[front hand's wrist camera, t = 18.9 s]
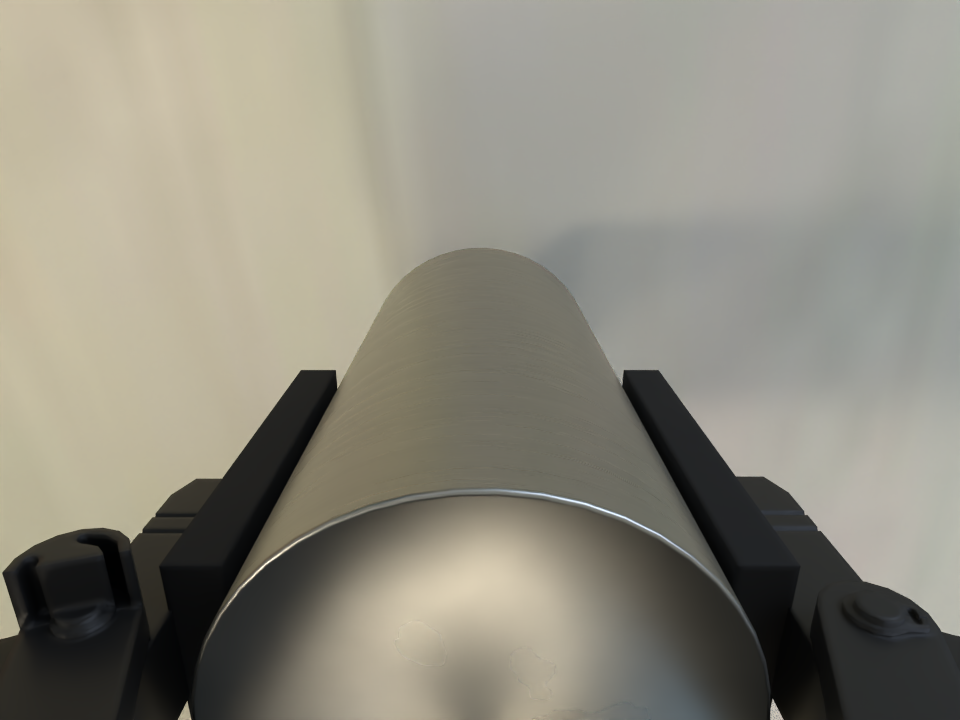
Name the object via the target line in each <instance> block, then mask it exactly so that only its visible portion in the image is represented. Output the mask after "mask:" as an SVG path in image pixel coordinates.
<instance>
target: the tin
mask: <svg viewBox="0 0 960 720" xmlns="http://www.w3.org/2000/svg"><path fill="white" fill-rule="evenodd" d="M770 694H771V692H770V683H769V677H768V671H767V665H766V660H765V657H764V654H763V651H762V649H761V646H760V643H759V640H758V637H757V635H756V632H755V630H754V628H753V626H752V624H751V623H750V621H749V619H748V617H747V615H746V613H745V612H744V610H743V608H742V606H741V604H740V602H739V601H738V599H737V597H736V595H735V593H734V591H733V589H732V588H731V586H730V584H729V582H728V580H727V578H726V577H725V575H724V573H723V571H722V569H721V567H720V566H719V564H718V562H717V560H716V558H715V556H714V555H713V553H712V551H711V549H710V547H709V545H708V544H707V542H706V540H705V538H704V536H703V534H702V533H701V531H700V529H699V527H698V525H697V523H696V521H695V520H694V518H693V516H692V514H691V512H690V510H689V509H688V507H687V505H686V503H685V501H684V499H683V498H682V496H681V494H680V492H679V490H678V488H677V487H676V485H675V483H674V481H673V479H672V477H671V476H670V474H669V472H668V470H667V468H666V466H665V465H664V463H663V461H662V459H661V457H660V455H659V453H658V452H657V450H656V448H655V446H654V444H653V442H652V441H651V439H650V437H649V435H648V433H647V431H646V430H645V428H644V426H643V424H642V422H641V420H640V419H639V417H638V415H637V413H636V411H635V409H634V408H633V406H632V404H631V402H630V400H629V398H628V397H627V395H626V393H625V391H624V389H623V387H622V385H621V384H620V382H619V380H618V378H617V376H616V374H615V373H614V371H613V369H612V367H611V365H610V363H609V362H608V360H607V358H606V356H605V354H604V352H603V351H602V349H601V347H600V345H599V343H598V341H597V340H596V338H595V336H594V334H593V332H592V330H591V329H590V327H589V325H588V323H587V321H586V319H585V317H584V316H583V314H582V312H581V310H580V308H579V307H578V305H577V303H576V301H575V299H574V298H573V296H572V295H571V293H570V292H569V291H568V289H567V288H566V287H565V286H564V284H563V283H562V282H561V281H560V280H559V279H558V278H557V277H556V276H555V275H553V274H552V273H551V272H549V271H548V270H547V269H545V268H544V267H543V266H541V265H539V264H538V263H536V262H534V261H532V260H530V259H528V258H526V257H523V256H521V255H518V254H516V253H512V252H508V251H504V250H498V249H490V248H470V249H463V250H456V251H452V252H449V253H445V254H442V255H440V256H437V257H435V258H433V259H430V260H428V261H426V262H425V263H423V264H421V265H420V266H418V267H416V268H415V269H414V270H412V271H411V272H410V273H409V274H407V275H406V276H405V277H404V278H403V279H402V280H401V281H400V282H399V283H398V284H397V285H396V286H395V287H394V289H393V290H392V291H391V293H390V294H389V296H388V297H387V298H386V300H385V302H384V304H383V306H382V307H381V309H380V311H379V313H378V315H377V317H376V319H375V320H374V322H373V324H372V326H371V328H370V330H369V332H368V333H367V335H366V337H365V339H364V341H363V343H362V345H361V346H360V348H359V350H358V352H357V354H356V356H355V358H354V360H353V361H352V363H351V365H350V367H349V369H348V371H347V373H346V374H345V376H344V378H343V380H342V382H341V384H340V386H339V387H338V389H337V391H336V393H335V395H334V397H333V399H332V400H331V402H330V404H329V406H328V408H327V410H326V412H325V413H324V415H323V417H322V419H321V421H320V423H319V425H318V426H317V428H316V430H315V432H314V434H313V436H312V438H311V440H310V441H309V443H308V445H307V447H306V449H305V451H304V453H303V454H302V456H301V458H300V460H299V462H298V464H297V466H296V467H295V469H294V471H293V473H292V475H291V477H290V479H289V480H288V482H287V484H286V486H285V488H284V490H283V492H282V493H281V495H280V497H279V499H278V501H277V503H276V505H275V506H274V508H273V510H272V512H271V514H270V516H269V518H268V520H267V521H266V523H265V525H264V527H263V529H262V531H261V533H260V534H259V536H258V538H257V540H256V542H255V544H254V546H253V547H252V549H251V551H250V553H249V555H248V557H247V559H246V560H245V562H244V564H243V566H242V568H241V570H240V572H239V573H238V575H237V577H236V579H235V581H234V583H233V585H232V587H231V588H230V590H229V592H228V594H227V596H226V598H225V600H224V601H223V603H222V605H221V607H220V609H219V611H218V613H217V615H216V616H215V618H214V620H213V622H212V624H211V626H210V628H209V630H208V632H207V634H206V636H205V638H204V640H203V644H202V647H201V650H200V653H199V656H198V660H197V663H196V666H195V672H194V680H193V688H192V718H193V720H770Z"/></svg>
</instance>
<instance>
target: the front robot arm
mask: <svg viewBox="0 0 960 720" xmlns="http://www.w3.org/2000/svg"><path fill="white" fill-rule="evenodd" d="M622 387H623V389H624V391H625V393H626V395H627V397H628V398H629V400H630V402H631V404H632V406H633V408H634V409H635V411H636V413H637V415H638V417H639V419H640V420H641V422H642V424H643V426H644V428H645V430H646V431H647V433H648V435H649V437H650V439H651V441H652V442H653V444H654V446H655V448H656V450H657V452H658V453H659V455H660V457H661V459H662V461H663V463H664V465H665V466H666V468H667V470H668V472H669V474H670V476H671V477H672V479H673V481H674V483H675V485H676V487H677V488H678V490H679V492H680V494H681V496H682V498H683V499H684V501H685V503H686V505H687V507H688V509H689V510H690V512H691V514H692V516H693V518H694V520H695V521H696V523H697V525H698V527H699V529H700V531H701V533H702V534H703V536H704V538H705V540H706V542H707V544H708V545H709V547H710V549H711V551H712V553H713V555H714V556H715V558H716V560H717V562H718V564H719V566H720V567H721V569H722V571H723V573H724V575H725V577H726V578H727V580H728V582H729V584H730V586H731V588H732V589H733V591H734V593H735V595H736V597H737V599H738V601H739V602H740V604H741V606H742V608H743V610H744V612H745V613H746V615H747V617H748V619H749V621H750V623H751V624H752V626H753V628H754V630H755V632H756V635H757V637H758V640H759V643H760V646H761V649H762V651H763V654H764V657H765V660H766V665H767V671H768V677H769V683H770V692H771V694H770V708H771V703H772V698H773V700H774V702H775V704H776V706H777V708H778V709H779V711H780V713H781V715H782V717H783V719H784V720H960V637H959V636H955V635H951V634H947V633H944V632H941V630H940V628H939V627H938V626H937V624H936V623H935V622H934V620H933V619H932V618H931V616H930V615H929V614H928V613H927V612H926V611H925V610H923V609H922V608H921V607H919V606H918V605H917V604H915V603H914V602H913V601H912V600H910V599H908V598H906V597H904V596H902V595H900V594H898V593H896V592H894V591H892V590H890V589H888V588H885V587H882V586H878V585H875V584H871V583H868V582H863V581H862V580H861V579H860V577H859V576H858V575H857V574H856V573H855V571H854V570H853V569H852V568H851V567H850V565H849V564H848V563H847V562H846V561H845V559H844V558H843V557H842V556H841V555H840V553H839V552H838V551H837V550H836V549H835V547H834V546H833V545H832V544H831V543H830V542H829V540H828V539H827V538H826V537H825V536H824V534H823V533H822V532H821V531H818V530H817V526H816V525H815V524H814V522H813V521H812V520H811V519H810V518H809V516H808V515H805V514H804V510H803V509H802V508H801V507H800V506H799V505H798V503H797V502H796V501H795V500H794V499H793V497H792V496H791V495H790V494H789V493H788V492H787V491H785V490H784V489H782V488H780V487H779V486H777V485H776V484H774V483H773V482H771V481H769V480H768V479H766V478H765V477H736V476H735V475H734V474H733V472H732V471H731V469H730V468H729V467H728V465H727V464H726V462H725V461H724V460H723V458H722V457H721V456H720V454H719V453H718V451H717V450H716V449H715V447H714V446H713V445H712V443H711V442H710V440H709V439H708V438H707V436H706V435H705V434H704V432H703V431H702V429H701V428H700V427H699V425H698V424H697V423H696V421H695V420H694V418H693V417H692V416H691V414H690V413H689V412H688V410H687V409H686V407H685V406H684V405H683V403H682V402H681V401H680V399H679V398H678V396H677V395H676V394H675V392H674V391H673V390H672V388H671V387H670V385H669V384H668V383H667V381H666V380H665V378H664V377H663V376H662V374H661V373H660V372H659V370H624V374H623V386H622ZM336 391H337V379H336V370H301V371H300V372H299V374H298V375H297V377H296V378H295V379H294V381H293V382H292V383H291V385H290V386H289V388H288V389H287V390H286V392H285V393H284V394H283V396H282V397H281V399H280V400H279V401H278V403H277V404H276V405H275V407H274V408H273V410H272V411H271V412H270V414H269V415H268V416H267V418H266V419H265V421H264V422H263V423H262V425H261V426H260V427H259V429H258V430H257V432H256V433H255V434H254V436H253V437H252V438H251V440H250V441H249V443H248V444H247V445H246V447H245V448H244V449H243V451H242V452H241V454H240V455H239V456H238V458H237V459H236V460H235V462H234V463H233V465H232V466H231V467H230V469H229V470H228V471H227V473H226V474H225V476H224V477H223V478H222V479H195V480H194V481H192V482H191V483H189V484H188V485H186V486H184V487H183V488H181V489H180V490H178V491H177V492H175V493H173V494H172V495H171V496H170V497H169V498H168V499H167V501H166V502H165V503H164V504H163V505H162V507H161V508H160V509H159V510H158V511H157V513H156V517H153V518H152V519H151V520H150V521H149V522H148V524H147V525H146V526H145V527H144V528H143V532H142V533H139V534H138V536H137V537H136V538H135V539H134V540H133V542H132V543H131V544H130V540H129V538H128V537H126V536H125V535H124V534H123V533H121V532H120V531H116V530H111V529H106V528H94V529H81V530H77V531H73V532H69V533H65V534H61V535H58V536H55V537H53V538H51V539H48V540H46V541H44V542H41V543H39V544H37V545H34V546H33V547H31V548H30V549H28V550H27V551H25V552H24V553H22V554H21V555H19V556H18V557H16V558H15V559H14V560H13V561H12V562H11V563H10V565H9V566H8V567H7V568H6V569H5V570H4V571H3V573H2V574H3V577H4V580H5V583H6V586H7V589H8V592H9V596H10V599H11V602H12V605H13V608H14V611H15V614H16V618H17V621H18V624H19V627H20V631H19V634H18V635H16V636H12V637H9V638H5V639H0V720H178V718H179V716H180V714H181V712H182V710H183V708H184V706H185V704H186V702H187V701H188V705H189V710H190V715H191V719H192V720H193V718H192V688H193V680H194V672H195V666H196V663H197V660H198V656H199V653H200V650H201V647H202V644H203V640H204V638H205V636H206V634H207V632H208V630H209V628H210V626H211V624H212V622H213V620H214V618H215V616H216V615H217V613H218V611H219V609H220V607H221V605H222V603H223V601H224V600H225V598H226V596H227V594H228V592H229V590H230V588H231V587H232V585H233V583H234V581H235V579H236V577H237V575H238V573H239V572H240V570H241V568H242V566H243V564H244V562H245V560H246V559H247V557H248V555H249V553H250V551H251V549H252V547H253V546H254V544H255V542H256V540H257V538H258V536H259V534H260V533H261V531H262V529H263V527H264V525H265V523H266V521H267V520H268V518H269V516H270V514H271V512H272V510H273V508H274V506H275V505H276V503H277V501H278V499H279V497H280V495H281V493H282V492H283V490H284V488H285V486H286V484H287V482H288V480H289V479H290V477H291V475H292V473H293V471H294V469H295V467H296V466H297V464H298V462H299V460H300V458H301V456H302V454H303V453H304V451H305V449H306V447H307V445H308V443H309V441H310V440H311V438H312V436H313V434H314V432H315V430H316V428H317V426H318V425H319V423H320V421H321V419H322V417H323V415H324V413H325V412H326V410H327V408H328V406H329V404H330V402H331V400H332V399H333V397H334V395H335V393H336Z"/></svg>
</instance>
